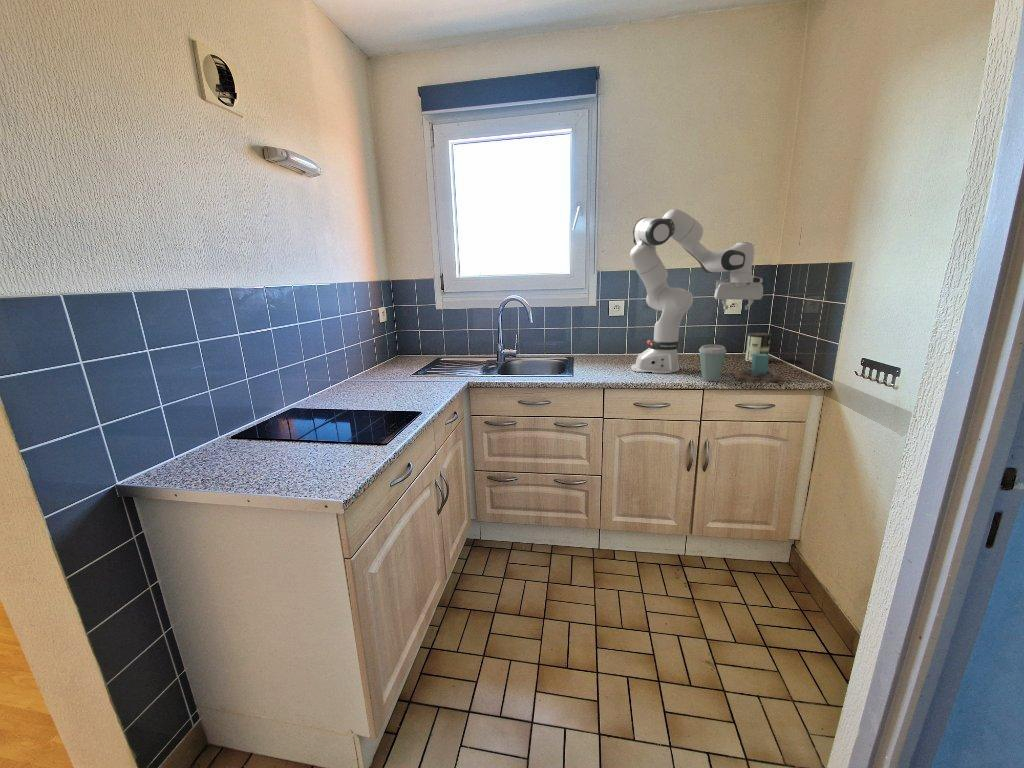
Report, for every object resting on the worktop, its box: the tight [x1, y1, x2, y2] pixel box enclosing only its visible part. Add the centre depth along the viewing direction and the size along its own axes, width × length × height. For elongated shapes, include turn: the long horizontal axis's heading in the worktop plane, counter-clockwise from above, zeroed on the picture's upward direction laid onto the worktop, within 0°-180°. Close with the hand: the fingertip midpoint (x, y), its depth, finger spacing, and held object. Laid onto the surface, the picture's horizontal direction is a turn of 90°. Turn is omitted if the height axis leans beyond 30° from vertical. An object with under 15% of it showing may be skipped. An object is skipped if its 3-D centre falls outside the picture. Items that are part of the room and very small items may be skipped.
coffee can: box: [744, 331, 772, 363], centre depth 209 cm, size 10×10×14 cm
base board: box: [731, 368, 788, 383], centre depth 178 cm, size 18×13×3 cm
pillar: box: [750, 354, 770, 374], centre depth 177 cm, size 5×5×9 cm
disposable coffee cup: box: [698, 343, 727, 382], centre depth 176 cm, size 11×11×15 cm
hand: (736, 309), depth 192 cm, fingers open, 8 cm apart
